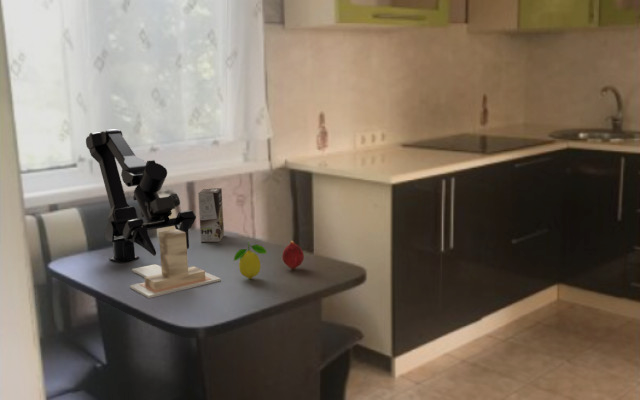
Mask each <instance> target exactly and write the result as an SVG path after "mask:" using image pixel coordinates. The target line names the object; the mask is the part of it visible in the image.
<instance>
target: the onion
mask: <svg viewBox="0 0 640 400" xmlns="http://www.w3.org/2000/svg"><path fill="white" fill-rule="evenodd" d="M281 256H282V257H281V259H282V262H283V263H284V264H285V265H286V266H287V267H288V268H290V269H291V270H295V269H297V268H298V267H300V265H301V264H302V263H303V262H304V258H305V257H304V256H305V255H304V252H303V249H302V248H301V247H300V246H299V245H298V244H296V242H295V241H293V240H290V243H289V244H288V245H287V246H286V247H285V248H284V249H283V252H282V255H281Z"/></svg>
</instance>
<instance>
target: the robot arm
mask: <svg viewBox="0 0 640 400" xmlns="http://www.w3.org/2000/svg"><path fill="white" fill-rule="evenodd" d="M85 145H86V148H87V149H88V151H89V153H90V156H91V157H92V158H93V159H94V160H95V161H96V162H97V163H98V165H99V168H100V172H101V176H102V179H103V183H104V187H105V191H106V194H107V199H108V203H109V206H110V211H109V213H108V216H107V222H108V223H107V226H106V229H105V231H104V236H105V240H106V241H108V242H110V243H112V253H113V256H112V257H111V256H110V257H109V258H108V260H110V261H113V262H117V263H124V262H130V261H132V260H133V261H134V260H137V259H140V256H139V255H136V252H135V251H136V250H135V244H137V245H139V246H141V247H142V248H143V249H145V250H146V251H147V252H149V253H150V254H151V255H152V256H153V257H154V256H157V251H156V248H155V246H154V245H153V242H152V239H151V238H150V236H149V233H148V231H151V230H158V229H164V228H169V227H175V229H177V230H180V231H183V232H186V244H187V250H189V248H190V242H189V241H190V238H189V230H190V229H191V228H192V227H193V225H194V223H195V220H196V219H197V215H196V213H195V212H194V210H191V209H189V210H188V209H187V210H185V211H184V210H183V211H178V213H177V215H176V217H173V218H170V217H171V216H172V214H173V213H172V210H174V209H176V207H179V206H180V205H181V200H180V197H179V195H178V194H177V193H171V194H170V195H168V196H164V197H160V195H159V193H158V192H160V190H162V188H163V185H164V182H165V180H166V178H167V175H168V170H167V168H166V167H165V166H164V165H162V164H160V163H157V162H156V160H155V159H152V160H147V161H145V160H144V159H142V158H140V157H138V156H136V154H135V152H134V151H133V149H132V148H131V147H130V145H129V143H128V142H127V141H126V140H125V138H124V135H123V132H122V130H121V129H118V128H116V129H115V128H114V129H113V128H112V129H105V130H103V131H98V132H90V133H89V134H88V135H87V136H86V139H85ZM117 163H118V164H119V166H120V167H121V173H120V172H119V169H118V164H117ZM122 182H123V183H122ZM123 184H125V186H127V187H130V188H131V187H135V188H134V191H133V198H132V199H133V201H136V202H137V203H138V206H139V208H140V210H141V212H140V216H141V217H138V215H137V214H138V213H137V210H136V208H135V206H131V205H130V204H128V202H127V197H126V194H125V189H124V186H123ZM143 217H144V219H145V222H144V219H142V218H143ZM134 243H135V244H134Z"/></svg>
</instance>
